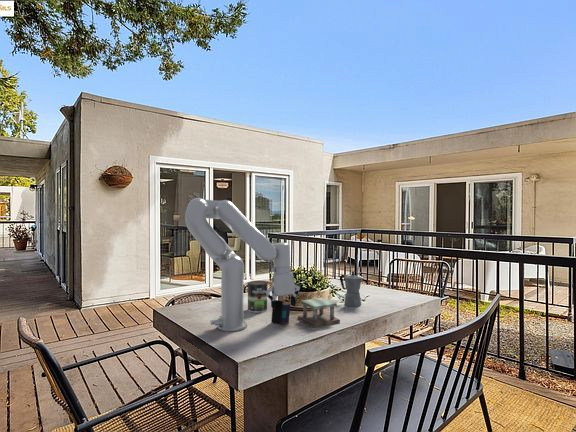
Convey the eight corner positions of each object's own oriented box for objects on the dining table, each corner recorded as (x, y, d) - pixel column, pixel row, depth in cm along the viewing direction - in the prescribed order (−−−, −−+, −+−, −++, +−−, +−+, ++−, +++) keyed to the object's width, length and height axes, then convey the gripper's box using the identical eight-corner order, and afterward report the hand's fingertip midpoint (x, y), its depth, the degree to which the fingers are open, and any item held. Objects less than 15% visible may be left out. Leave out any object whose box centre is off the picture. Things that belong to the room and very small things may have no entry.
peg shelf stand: (313, 327, 149) (313, 307, 149) (297, 318, 161) (297, 300, 161) (339, 322, 155) (339, 303, 155) (322, 314, 168) (322, 297, 168)
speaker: (277, 325, 151) (279, 301, 152) (271, 322, 155) (272, 299, 156) (291, 324, 155) (293, 301, 156) (284, 321, 160) (286, 299, 161)
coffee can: (269, 311, 173) (269, 284, 173) (249, 313, 170) (249, 285, 170) (265, 306, 183) (265, 280, 183) (246, 308, 180) (246, 281, 180)
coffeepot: (368, 305, 186) (368, 272, 186) (358, 308, 179) (357, 274, 179) (345, 300, 197) (344, 268, 197) (334, 303, 190) (334, 270, 190)
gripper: (268, 273, 149) (269, 312, 149) (302, 268, 157) (304, 306, 157) (261, 271, 156) (263, 308, 156) (294, 266, 164) (296, 302, 164)
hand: (283, 307), depth 156 cm, fingers open, 9 cm apart
